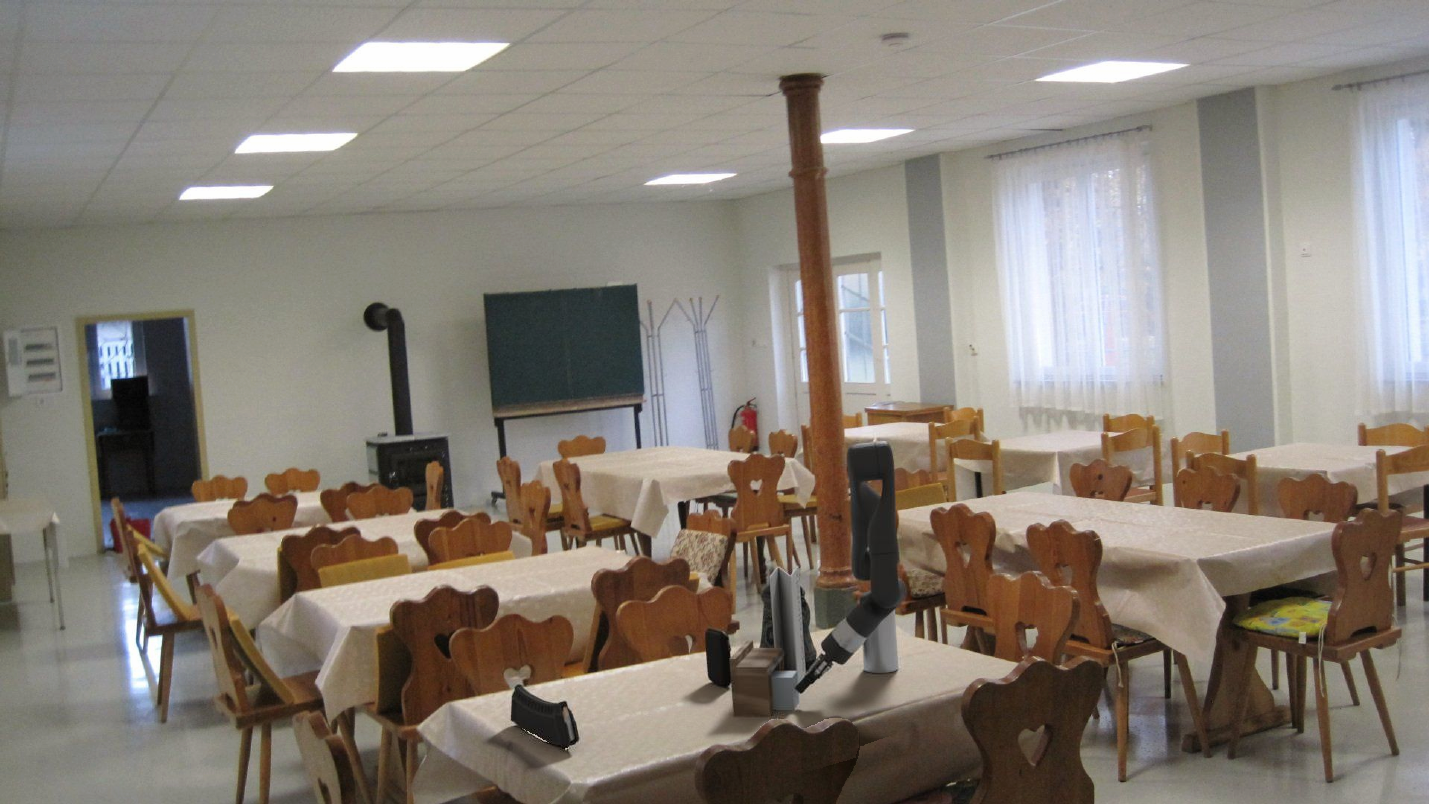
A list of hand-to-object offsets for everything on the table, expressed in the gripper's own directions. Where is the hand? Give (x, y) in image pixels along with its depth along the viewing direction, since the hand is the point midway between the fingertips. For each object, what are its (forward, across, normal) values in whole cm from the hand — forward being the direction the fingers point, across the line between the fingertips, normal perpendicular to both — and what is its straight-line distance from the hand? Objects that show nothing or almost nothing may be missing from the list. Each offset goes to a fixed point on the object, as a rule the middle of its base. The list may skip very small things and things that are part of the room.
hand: (798, 690), depth 300 cm
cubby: (+9, 0, -4) cm, 10 cm away
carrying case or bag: (+20, -17, -14) cm, 30 cm away
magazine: (+42, +27, -37) cm, 62 cm away
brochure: (+7, -17, -1) cm, 18 cm away
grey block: (+7, 0, -2) cm, 8 cm away
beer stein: (+9, -36, -4) cm, 38 cm away
